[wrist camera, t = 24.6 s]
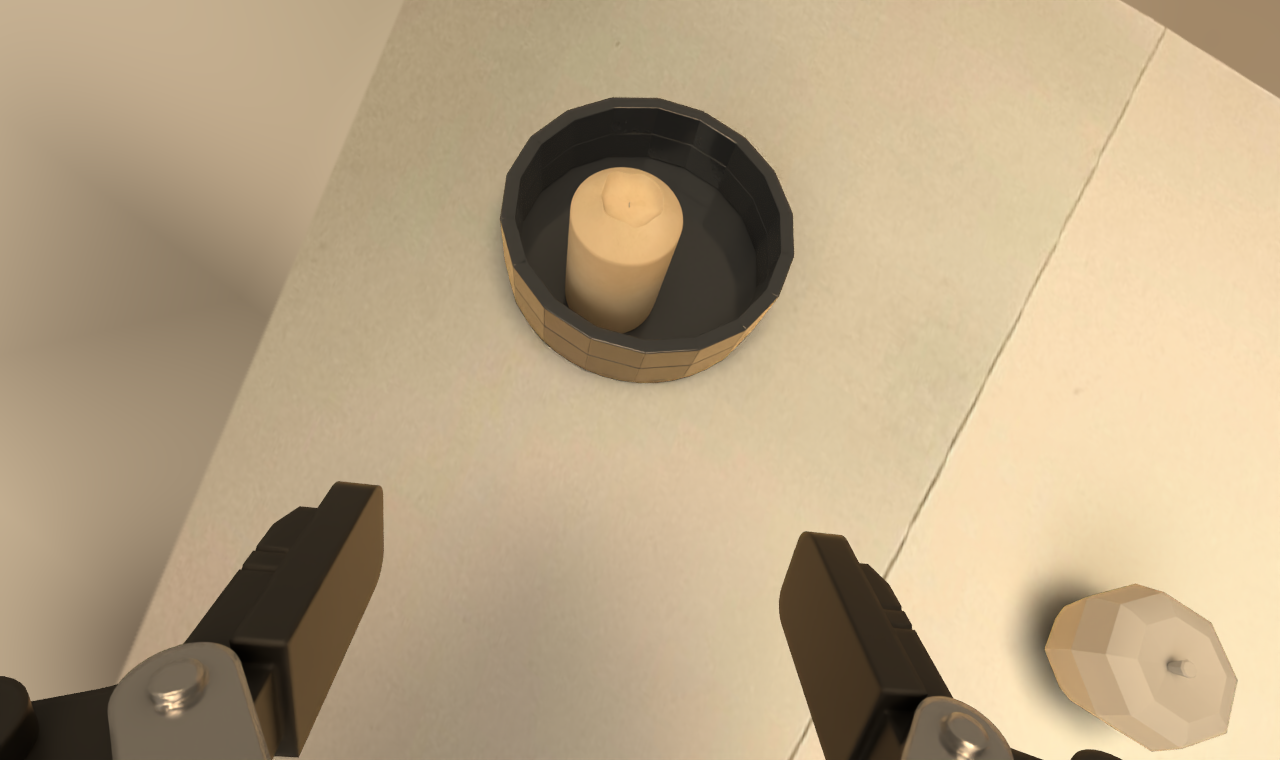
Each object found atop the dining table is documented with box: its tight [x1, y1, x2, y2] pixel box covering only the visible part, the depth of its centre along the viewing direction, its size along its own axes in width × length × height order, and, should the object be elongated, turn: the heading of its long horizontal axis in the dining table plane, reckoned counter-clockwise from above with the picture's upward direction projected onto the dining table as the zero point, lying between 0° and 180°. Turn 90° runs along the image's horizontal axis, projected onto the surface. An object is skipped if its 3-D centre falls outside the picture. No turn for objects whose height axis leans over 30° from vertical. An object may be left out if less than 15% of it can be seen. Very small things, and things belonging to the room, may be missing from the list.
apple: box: [1044, 584, 1237, 752], centre depth 32 cm, size 8×8×7 cm
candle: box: [565, 167, 683, 333], centre depth 33 cm, size 6×6×10 cm
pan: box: [500, 97, 794, 383], centre depth 37 cm, size 17×17×5 cm
